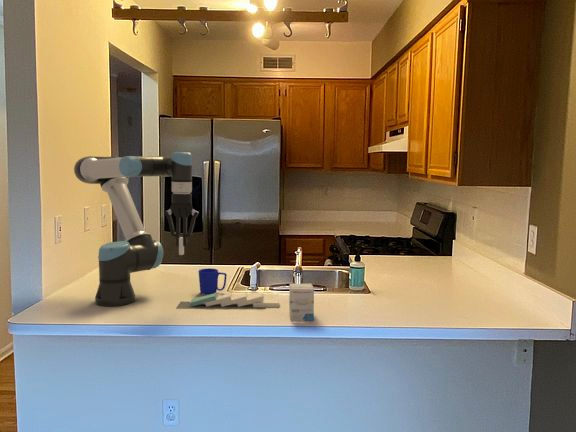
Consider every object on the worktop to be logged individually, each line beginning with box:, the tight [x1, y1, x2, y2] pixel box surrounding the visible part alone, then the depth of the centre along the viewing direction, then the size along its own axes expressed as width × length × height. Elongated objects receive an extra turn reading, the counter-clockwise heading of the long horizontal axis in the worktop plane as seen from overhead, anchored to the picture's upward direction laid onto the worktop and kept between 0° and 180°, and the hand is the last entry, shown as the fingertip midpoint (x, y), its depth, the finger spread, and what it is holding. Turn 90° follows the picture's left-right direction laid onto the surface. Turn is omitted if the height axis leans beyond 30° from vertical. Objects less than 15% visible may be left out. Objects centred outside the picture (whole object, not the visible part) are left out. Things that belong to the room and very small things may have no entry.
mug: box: [198, 267, 228, 295], centre depth 219 cm, size 8×12×10 cm
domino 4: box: [253, 299, 280, 308], centre depth 201 cm, size 2×5×10 cm
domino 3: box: [237, 292, 265, 307], centre depth 200 cm, size 2×5×10 cm
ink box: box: [288, 283, 315, 322], centre depth 187 cm, size 8×8×12 cm
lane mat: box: [175, 300, 267, 310], centre depth 200 cm, size 34×10×1 cm, turn 91°
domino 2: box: [221, 292, 249, 307], centre depth 200 cm, size 2×5×10 cm
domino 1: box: [205, 292, 233, 307], centre depth 200 cm, size 2×5×10 cm
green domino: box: [189, 292, 219, 307], centre depth 200 cm, size 2×5×10 cm
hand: (181, 254), depth 198 cm, fingers closed
